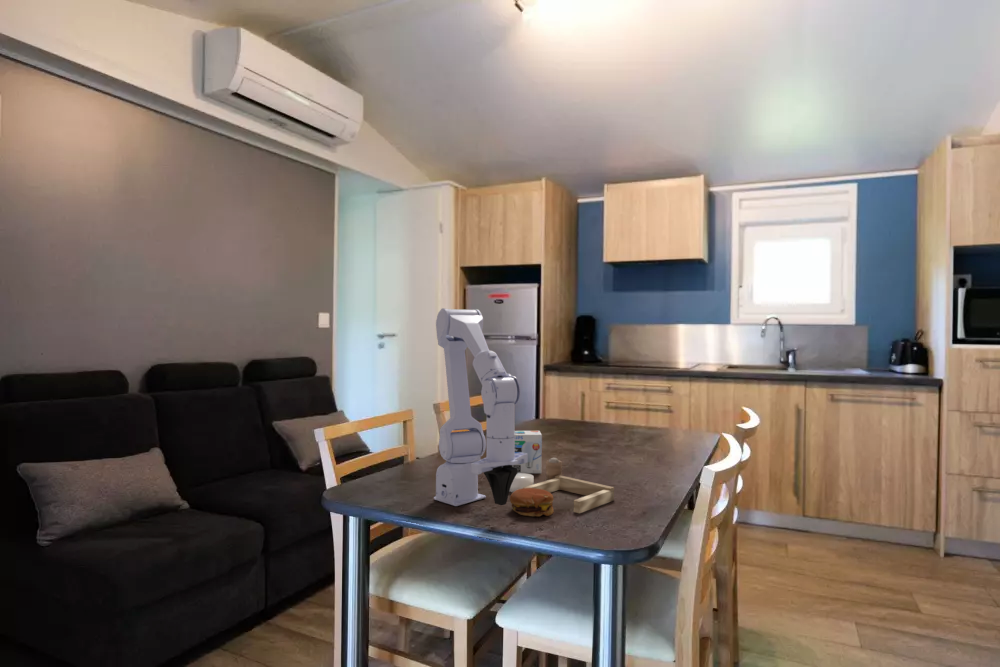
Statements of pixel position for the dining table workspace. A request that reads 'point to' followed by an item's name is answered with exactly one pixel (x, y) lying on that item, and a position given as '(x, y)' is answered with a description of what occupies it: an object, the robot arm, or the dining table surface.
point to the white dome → (521, 481)
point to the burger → (532, 502)
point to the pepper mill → (553, 468)
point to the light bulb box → (529, 450)
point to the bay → (579, 491)
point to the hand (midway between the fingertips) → (500, 503)
